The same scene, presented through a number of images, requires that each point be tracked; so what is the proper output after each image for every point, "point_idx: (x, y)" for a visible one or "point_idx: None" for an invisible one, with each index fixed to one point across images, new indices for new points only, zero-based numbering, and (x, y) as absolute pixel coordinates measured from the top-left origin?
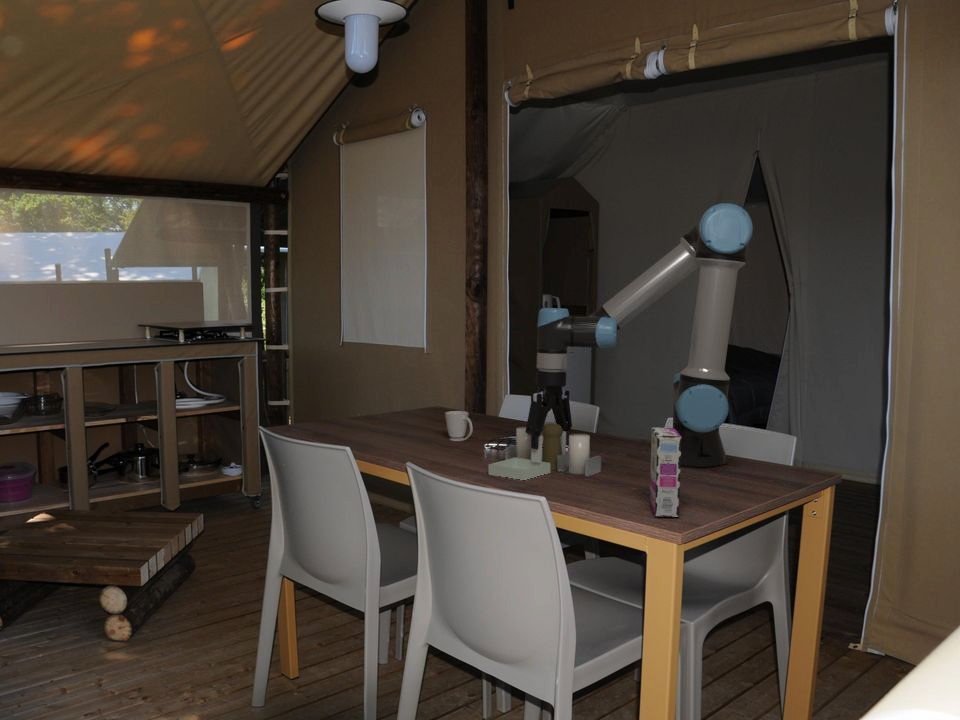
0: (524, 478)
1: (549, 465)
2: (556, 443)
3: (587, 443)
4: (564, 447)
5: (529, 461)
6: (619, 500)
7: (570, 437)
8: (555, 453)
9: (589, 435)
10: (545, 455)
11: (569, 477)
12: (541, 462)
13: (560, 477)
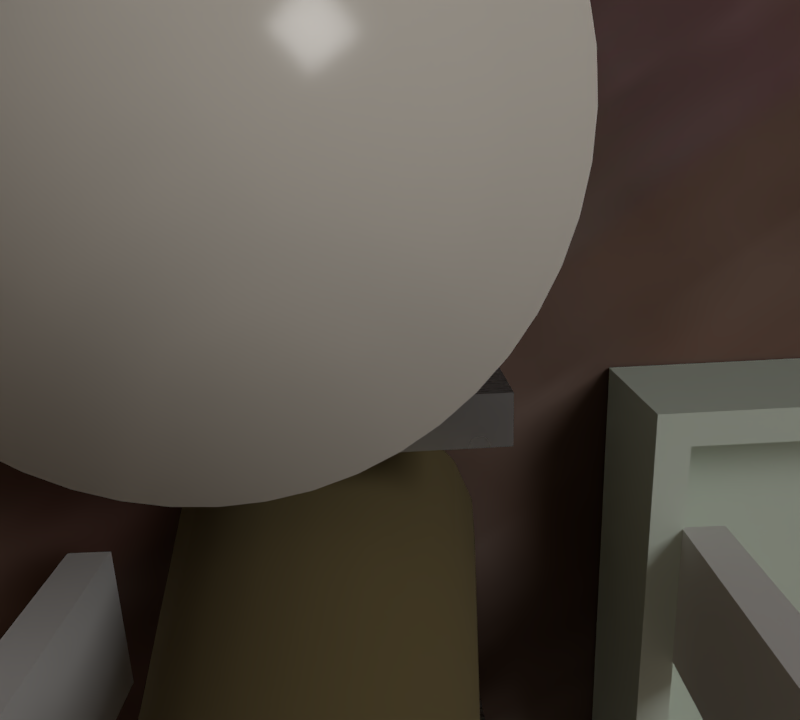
0: None
1: (668, 400)
2: (377, 671)
3: None
4: (31, 649)
5: (660, 694)
6: None
7: (531, 288)
8: (407, 551)
9: None
10: (477, 647)
11: (679, 21)
12: (681, 531)
13: (746, 121)
